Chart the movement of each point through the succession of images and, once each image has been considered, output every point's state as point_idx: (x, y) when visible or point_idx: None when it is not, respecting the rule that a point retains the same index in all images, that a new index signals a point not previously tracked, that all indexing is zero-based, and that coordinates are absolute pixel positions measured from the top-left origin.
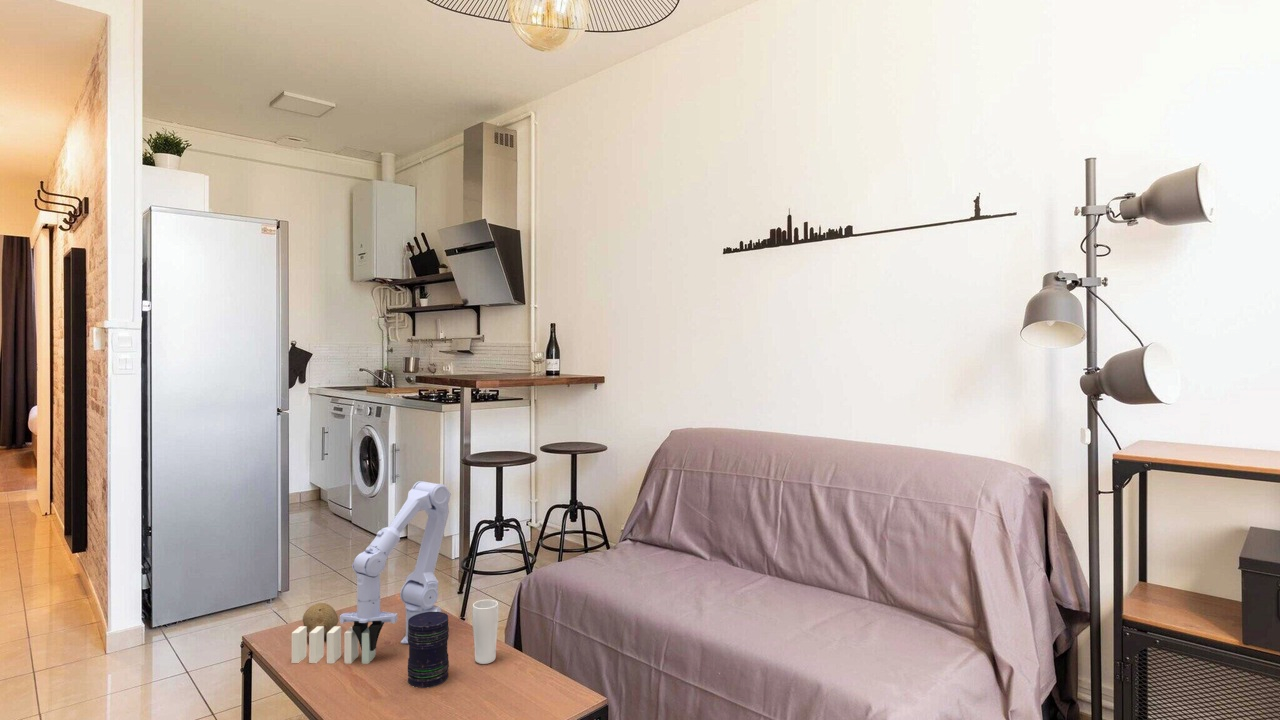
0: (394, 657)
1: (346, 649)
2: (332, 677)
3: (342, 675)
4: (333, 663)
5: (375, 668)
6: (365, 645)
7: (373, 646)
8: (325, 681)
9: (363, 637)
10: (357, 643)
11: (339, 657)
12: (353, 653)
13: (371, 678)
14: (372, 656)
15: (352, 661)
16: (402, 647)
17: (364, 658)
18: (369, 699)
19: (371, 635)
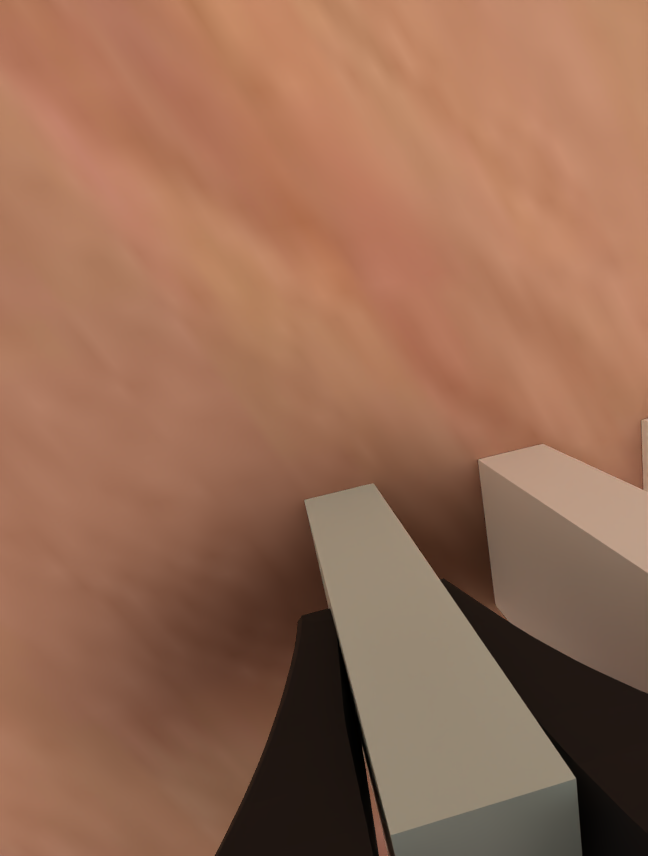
0: (127, 674)
1: (629, 502)
2: (501, 120)
3: (419, 188)
4: (643, 419)
5: (159, 419)
6: (387, 601)
7: (294, 655)
8: (527, 3)
9: (479, 696)
10: None
11: None
12: (524, 542)
13: (28, 174)
14: (327, 602)
15: (484, 488)
16: (191, 846)
17: (358, 510)
18: None
19: (322, 799)
